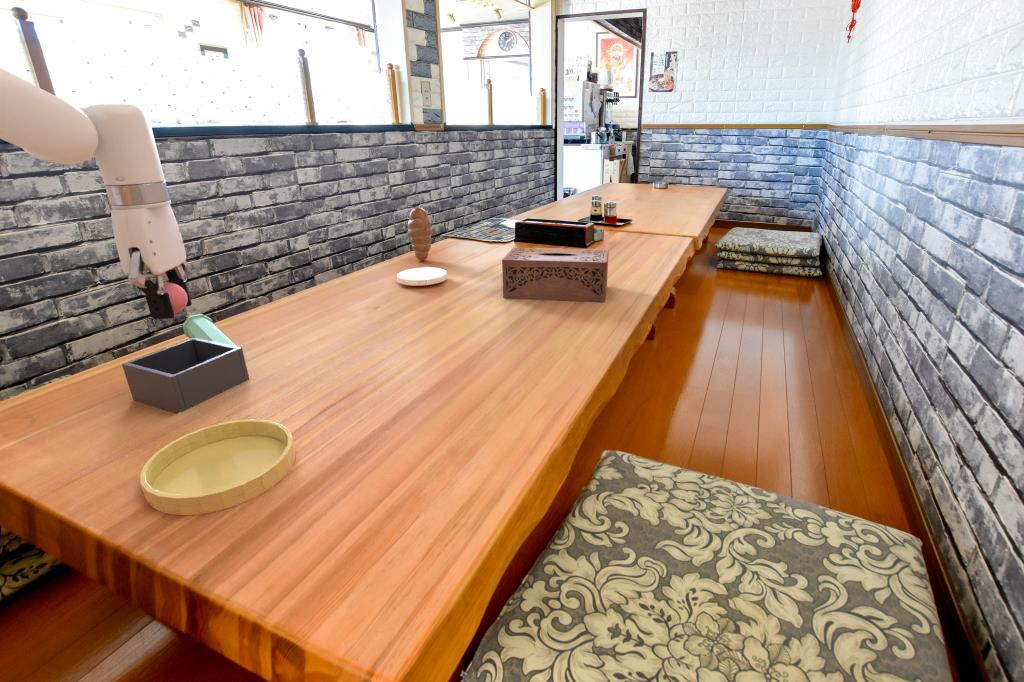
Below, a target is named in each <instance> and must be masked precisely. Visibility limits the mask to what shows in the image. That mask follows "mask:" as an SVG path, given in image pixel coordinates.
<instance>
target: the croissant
mask: <svg viewBox="0 0 1024 682" xmlns="http://www.w3.org/2000/svg"><path fill="white" fill-rule="evenodd" d="M407 228H408V229H407V235H408V237H409V242H410V244H411V249H412V251H413V252H414V256H415V258H416V259H417V260H418V261H420V262H424V261H426V260H428V257H429V252H430V251H431V248H432V245H431V244H432V235H433V229H432V221H431V219H430V217H429V213H428V211H426V209H424V208H423V206H422V204H420V205H419V206H416V207H414V208H412V209H411V210H410V212H409V220H408V221H407Z"/></svg>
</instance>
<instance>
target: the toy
mask: <svg viewBox="0 0 1024 682" xmlns="http://www.w3.org/2000/svg"><path fill="white" fill-rule="evenodd" d="M163 283H164V293H168V294H169V298H170V301H171V305H172V308H173V312H174V315H176V314H178V313H180V312H182V311H183V310H184V309H185V308H186V307H185V306H186V305H187V301H188V297H187V294H186V292H185V290H184V289H183V288H182V287H180V286H179V285H177V284H174V283H168V282H163Z"/></svg>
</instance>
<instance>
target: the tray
mask: <svg viewBox="0 0 1024 682" xmlns="http://www.w3.org/2000/svg"><path fill="white" fill-rule="evenodd" d="M295 461H296V447H295V442H294V437H293V435H292V433H291V431H290V429H289V428H288V427H286V426H285V425H284V424H281V423H279V422H275V421H272V420H267V419H257V418H251V419H250V418H249V419H237V420H231V421H225V422H224V421H223V422H220V423H216V424H212V425H209V426H205V427H201V428H199V429H196V430H194V431H192V432H189V433H186V434H184V435H182V436H180V437H178V438H177V439H175V440H172V441H171V442H169V443H167V444H165V446H163V447H161V448H160V449H159V450H157V451H155V453H153V455H152V456H150V458H148V460H147V461H146V462H145V463H144V465H143V467H142V469H141V470H140V472H139V483H140V487H141V490H142V492H143V496H144V498H145V501H146V502H147V504H148V505H149V506H150V507H151V508H152V509H154V510H156V511H158V512H159V513H164V514H167V515H171V516H172V515H173V516H197V515H207V514H211V513H216V512H219V511H224V510H227V509H230V508H234V507H236V506H239V505H241V504H244V503H246V502H249V501H251V500H253V499H255V498H257V497H259V496H260V495H262V494H264V493H266V492H267V491H268V490H270V489H271V488H273V487H274V486H276V485H277V484H278V483H280V482H281V481H282V480H283V479H284V478H285V477H286V476H287V475H288V473H289V472H290V471H291V469H292V468H293V466H294V463H295Z"/></svg>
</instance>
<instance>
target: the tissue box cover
mask: <svg viewBox="0 0 1024 682" xmlns="http://www.w3.org/2000/svg"><path fill="white" fill-rule="evenodd" d="M609 254H610V250H609V249H606V248H605V249H600V248H597V249H596V248H559V247H558V248H557V247H555V248H554V247H519V246H517V247H516V246H515V247H513V246H512V248H511V250H509V251H508V252H507V253H506V255H505V256H504V257H503V258H502V259H501V262H502V263H501V266H502V267H501V268H502V270H501V271H502V298H503V299H517V300H518V299H519V300H541V301H566V302H586V303H587V302H588V303H589V302H591V303H592V302H593V303H606V297H607V288H608V273H609Z"/></svg>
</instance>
